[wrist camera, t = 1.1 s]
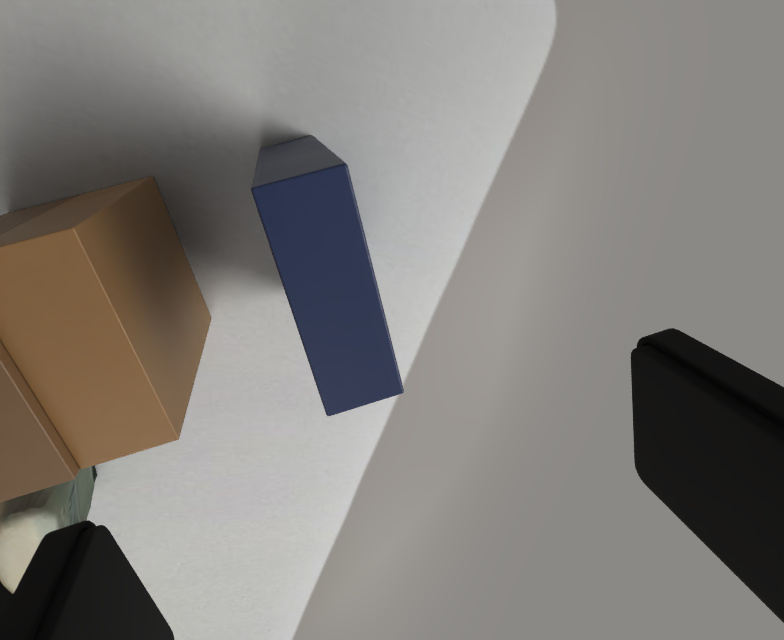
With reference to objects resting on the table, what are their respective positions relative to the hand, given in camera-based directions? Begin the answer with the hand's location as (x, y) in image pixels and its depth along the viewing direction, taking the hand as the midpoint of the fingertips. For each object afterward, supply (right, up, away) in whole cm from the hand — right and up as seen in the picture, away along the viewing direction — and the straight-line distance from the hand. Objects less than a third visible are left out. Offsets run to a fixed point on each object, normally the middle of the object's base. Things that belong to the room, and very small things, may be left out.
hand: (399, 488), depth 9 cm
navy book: (-5, +8, +19) cm, 21 cm away
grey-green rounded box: (-19, -5, +22) cm, 29 cm away
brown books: (-14, +6, +18) cm, 24 cm away
